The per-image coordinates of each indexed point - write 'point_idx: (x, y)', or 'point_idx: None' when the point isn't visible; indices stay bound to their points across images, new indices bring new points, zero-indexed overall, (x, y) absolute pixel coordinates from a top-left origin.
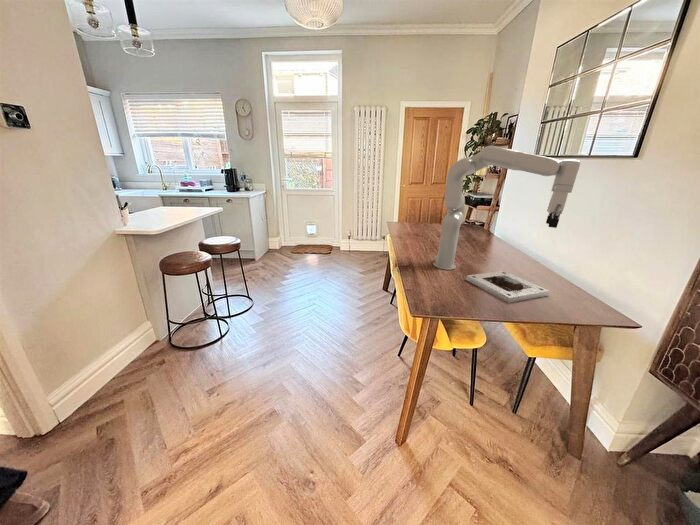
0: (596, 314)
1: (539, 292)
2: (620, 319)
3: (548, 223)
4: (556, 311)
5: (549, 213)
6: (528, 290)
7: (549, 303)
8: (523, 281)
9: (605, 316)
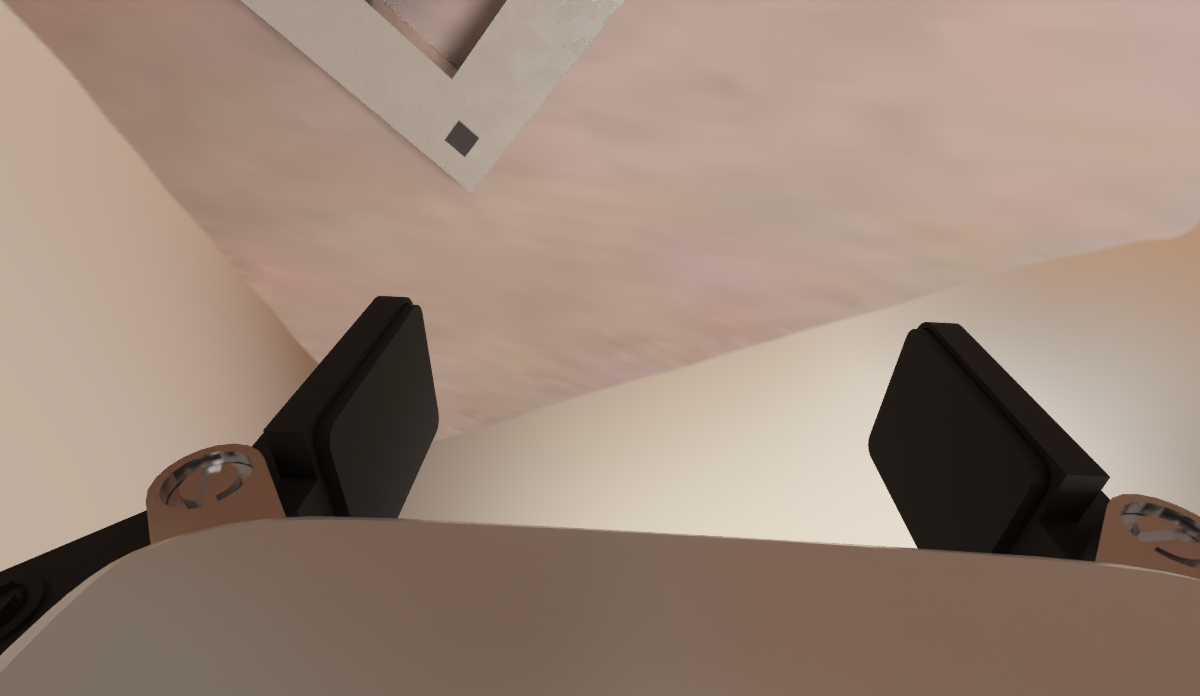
0: None
1: (385, 117)
2: None
3: (896, 365)
4: (259, 187)
5: (1099, 559)
6: (365, 39)
7: (349, 168)
8: (553, 15)
9: None
